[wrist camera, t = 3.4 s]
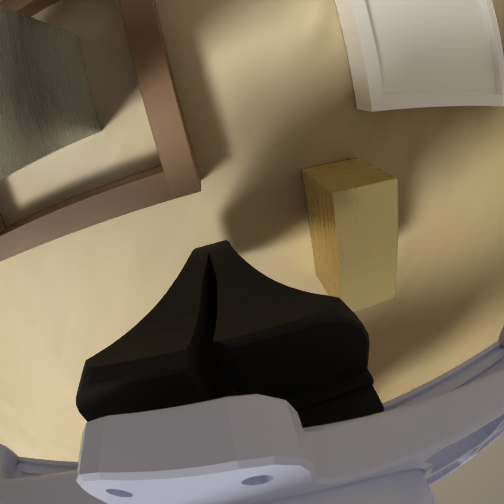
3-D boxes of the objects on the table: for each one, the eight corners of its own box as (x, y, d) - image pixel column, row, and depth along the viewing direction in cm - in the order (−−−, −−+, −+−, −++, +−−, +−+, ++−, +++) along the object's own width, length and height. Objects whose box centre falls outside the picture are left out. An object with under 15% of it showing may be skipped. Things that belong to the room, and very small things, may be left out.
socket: (200, 181, 11) (201, 190, 10) (2, 252, 11) (-10, 265, 10) (142, -53, 6) (137, -66, 5) (-55, 62, 6) (-71, 63, 5)
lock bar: (362, 261, 14) (394, 297, 12) (316, 275, 14) (341, 316, 11) (356, 157, 12) (397, 178, 9) (301, 169, 12) (332, 193, 9)
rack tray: (492, 102, 11) (508, 106, 10) (356, 109, 11) (372, 111, 10) (460, -46, 7) (475, -49, 6) (307, -81, 6) (318, -93, 5)
